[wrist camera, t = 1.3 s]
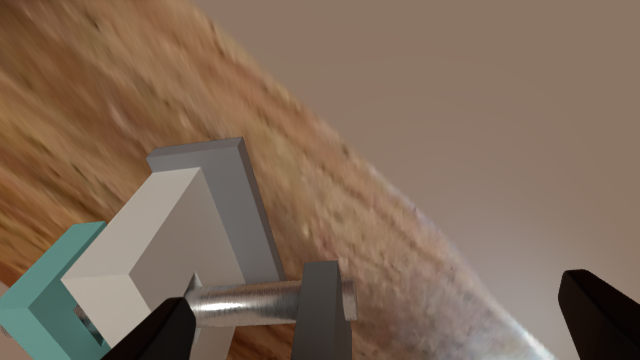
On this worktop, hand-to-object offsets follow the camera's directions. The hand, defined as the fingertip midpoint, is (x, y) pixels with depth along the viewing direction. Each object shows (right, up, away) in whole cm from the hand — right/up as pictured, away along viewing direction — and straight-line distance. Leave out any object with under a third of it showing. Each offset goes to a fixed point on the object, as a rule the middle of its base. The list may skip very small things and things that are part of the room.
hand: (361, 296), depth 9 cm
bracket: (-7, 0, +16) cm, 18 cm away
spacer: (-14, -3, +14) cm, 20 cm away
